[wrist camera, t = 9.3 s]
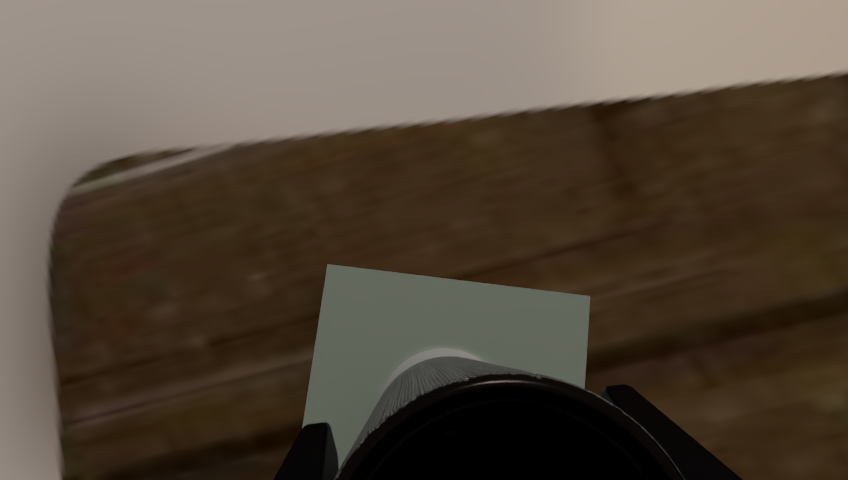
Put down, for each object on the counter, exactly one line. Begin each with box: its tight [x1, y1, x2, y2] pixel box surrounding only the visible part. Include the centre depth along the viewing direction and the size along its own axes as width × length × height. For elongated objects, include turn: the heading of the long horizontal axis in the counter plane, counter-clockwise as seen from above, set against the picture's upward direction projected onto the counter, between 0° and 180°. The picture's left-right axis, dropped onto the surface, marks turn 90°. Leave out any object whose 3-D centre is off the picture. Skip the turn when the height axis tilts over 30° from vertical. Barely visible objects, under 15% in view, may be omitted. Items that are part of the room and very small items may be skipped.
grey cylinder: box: [334, 356, 685, 480], centre depth 11 cm, size 4×4×10 cm
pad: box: [302, 264, 590, 469], centre depth 17 cm, size 9×9×1 cm
